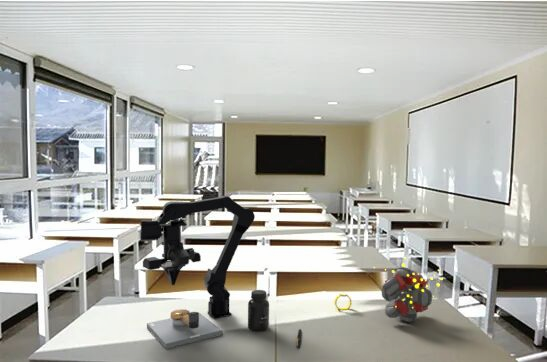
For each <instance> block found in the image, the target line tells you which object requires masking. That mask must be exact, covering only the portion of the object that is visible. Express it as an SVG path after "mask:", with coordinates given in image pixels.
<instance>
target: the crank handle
mask: <svg viewBox="0 0 547 362" xmlns="http://www.w3.org/2000/svg"><path fill="white" fill-rule="evenodd" d="M199 313H200V312H199ZM199 313H198V311H191V312H190V310H188V309H175V310H173V311H171V312H170V318H171V319H174V320H182V321H183V322H185V323H186V324H187V325H189V328H198V327H199Z"/></svg>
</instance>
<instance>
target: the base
mask: <svg viewBox="0 0 547 362" xmlns="http://www.w3.org/2000/svg"><path fill="white" fill-rule="evenodd" d="M197 312H198V311H197ZM198 313H199V327H198V328H189V325H187V324H186V323H185V322H183V321H182V320H174V319H171V317H169V318H165V319H160V320H156V321H151V322H146V329H147V330H148V329H149V330H150V331H151V332H152V333H151V332H150V333H151V334H152V336H154V337H155V338H156V339H157V341H158V340H159V341H160V342H161V343H162V344H161V343H160V342H159V341H158V342H159V343H160V344H161V345H162V346H163V347H164V348H165V349H166V348H168V349H171V348H170V347H172V348H175V347H174V346H176V347H178V345H179V346H183V345H186V343H187V344H190V343H194V342H199V341H203V340H206V339H210V338H215V337H219V336H222V335H223V329H221V327H219V325H216V324H215V322H212V321H211V320H210V319H209V318H208V317H206V316H204V315H203V314H202V313H200V312H198ZM149 330H148V331H149ZM182 344H183V345H182Z"/></svg>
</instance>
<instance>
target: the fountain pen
mask: <svg viewBox="0 0 547 362" xmlns="http://www.w3.org/2000/svg"><path fill="white" fill-rule="evenodd" d="M301 339H302V329H301V328H299V329H298V331H297V337H296V342H295V343H296V345H295V347H296V349H300V347H301V341H302V340H301Z"/></svg>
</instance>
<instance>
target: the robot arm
mask: <svg viewBox="0 0 547 362" xmlns="http://www.w3.org/2000/svg"><path fill="white" fill-rule="evenodd" d="M220 209H225V210H227V211H229V213H231V214H233V217H232V218H233V219H232V222H231V223H232V225H231V229H230V232H229V235H228V237H227V238H226V241H225V244H224V246H223V248H222V251H221V252H220V255H219V256H218V260H217V261H216V264H215V265H214V267H213V268H212V269H210V268H207V271H206V274H205V276H204V277H203V280H204V283H203V286H204V287H205V289H206V291H207V293H208V294H209V301H208V302H207V303H208V306H207V307H208V308H207V309H208V310H207V314H208V315H210V316H211V317H212V318H214V319H219V318H223V317H227V316H232V315H233V314H232V312H230V296H231V294H230V292H229V290H228V289H227V288H226V280H227V272H228V269H229V267H230V265H231V263H232V261H233V258H234V256H235V253H236V252H237V250H238V246H239V245H240V242H241V239H242V238H243V235H244V234H245V233H246V232H247V230H249V228H250V227H251V226H252V224H253V222H254V220H255V218H256V217H255V212H254V211H253V210H252V209H250V208H248V207H246V206H243V205H240V204H239V203H237V202H236V201H235V200H233V199H232V198H231V197H229V196H227V195H222V196H217V197H212V198H206V199H200V200H192V201H178V200H177V201H176V200H175V201H172V200H171V201H167V202H166V203H164V205H163V206H162V212H161V214H160V215H159V216H158V217H157V219H155V220H154V219H153V220H152V219H151V220H146V219H145V220H144V219H142V220H140V230H139V233H140V236H139V238H140V242H150V241H159V239H161V238H162V236H163V241H162V242H161V245H162V246H163V253H162V254H161V257H162V258H158V257H156V256H152V257H144V259H143V260H142V267H143V268H145V269H147V270H149V271H151V270H152V271H153V270H159V269H160V268H162V269H163V271H164V273H165V275H166V276H167V279H168V281H169V283H170V285H171V286H175V284H176V283H177V279H178V276H179V273H180V272H181V269H183V268H185V267H186V265H189V264H190V261H191V262H192V263H199V262H201V261H202V259H201V258H202V257H201V254H200V252H196V251H195V249H194V248H193V247H188V248H184V243H183V242H182V229H181V228H182V227H185V226H187V225H188V224H187V223H186V221H184V219H183V218H185V217H186V216H190V215H192V214H196V213H202V212H203V213H204V212H208V211H212V210H213V211H214V210H220ZM168 222H169V223H168ZM162 229H163V230H162ZM162 231H163V233H162ZM162 234H163V235H162ZM210 295H211V296H210Z"/></svg>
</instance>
